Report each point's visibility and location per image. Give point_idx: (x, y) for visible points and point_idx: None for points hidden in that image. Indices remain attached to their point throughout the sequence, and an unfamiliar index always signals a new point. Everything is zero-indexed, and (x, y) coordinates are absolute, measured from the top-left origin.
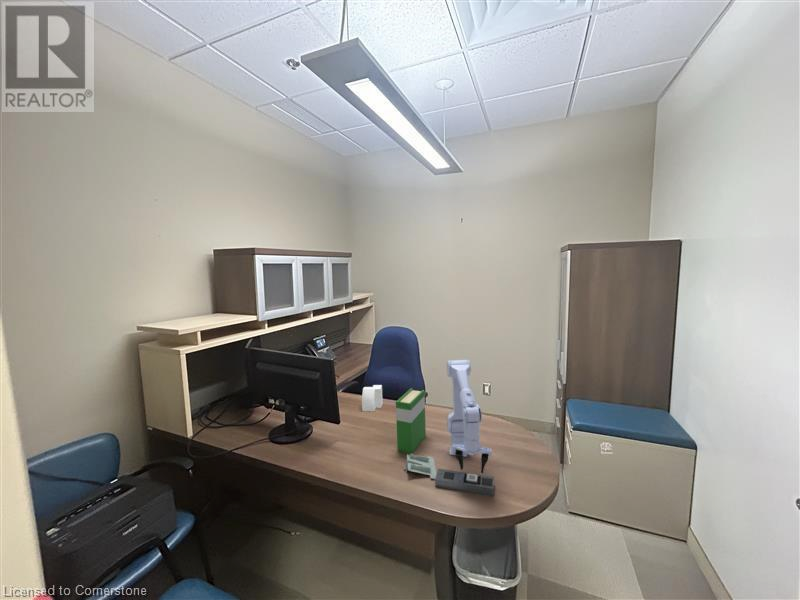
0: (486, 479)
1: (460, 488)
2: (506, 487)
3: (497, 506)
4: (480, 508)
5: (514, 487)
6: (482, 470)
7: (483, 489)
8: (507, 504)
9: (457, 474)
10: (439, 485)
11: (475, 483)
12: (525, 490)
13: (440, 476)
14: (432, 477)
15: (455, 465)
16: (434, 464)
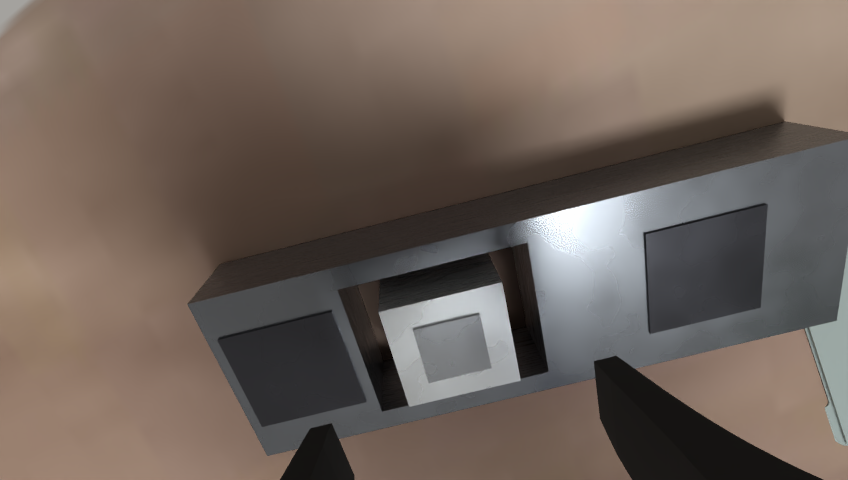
0: (312, 396)
1: (533, 193)
2: (176, 412)
3: (119, 152)
4: (250, 31)
5: (122, 440)
6: (298, 458)
7: (296, 265)
8: (56, 226)
9: (618, 330)
10: (753, 137)
11: (394, 292)
12: (31, 448)
13: (800, 214)
14: None
15: None
16: (828, 384)
